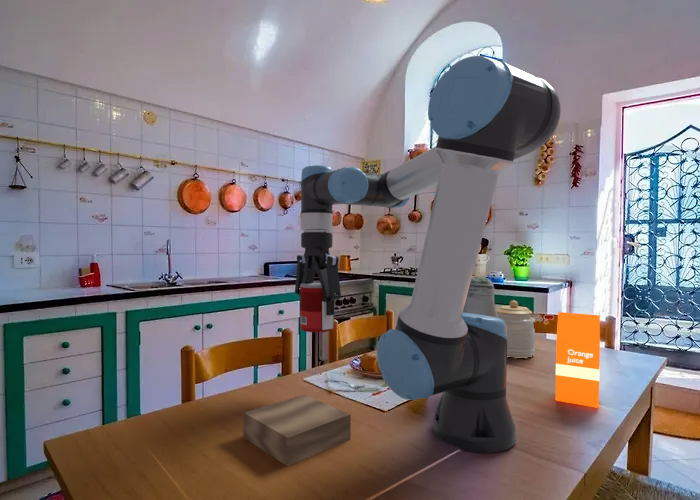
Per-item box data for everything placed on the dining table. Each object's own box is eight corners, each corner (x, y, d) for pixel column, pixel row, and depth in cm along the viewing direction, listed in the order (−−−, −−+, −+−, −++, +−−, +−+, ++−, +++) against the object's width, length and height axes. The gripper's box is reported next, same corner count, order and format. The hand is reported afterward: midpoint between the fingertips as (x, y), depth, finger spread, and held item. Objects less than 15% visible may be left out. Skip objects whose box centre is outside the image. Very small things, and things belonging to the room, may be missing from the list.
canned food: (328, 333, 98) (328, 285, 98) (295, 331, 100) (295, 284, 100) (336, 327, 106) (336, 282, 106) (305, 325, 108) (305, 282, 107)
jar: (489, 348, 148) (489, 297, 147) (528, 350, 146) (529, 298, 146) (496, 358, 135) (497, 302, 134) (539, 360, 133) (540, 303, 133)
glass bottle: (474, 400, 98) (475, 279, 98) (447, 387, 108) (448, 275, 107) (507, 394, 102) (508, 278, 102) (478, 382, 112) (479, 275, 111)
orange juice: (557, 390, 106) (558, 309, 105) (599, 397, 101) (600, 313, 101) (555, 400, 99) (556, 314, 98) (599, 408, 94) (600, 317, 94)
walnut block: (350, 441, 79) (350, 414, 79) (287, 468, 69) (287, 437, 69) (304, 418, 89) (304, 394, 89) (243, 439, 79) (243, 412, 79)
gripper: (357, 231, 97) (357, 330, 98) (304, 232, 113) (304, 318, 113) (331, 230, 92) (331, 335, 93) (280, 232, 108) (280, 322, 108)
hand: (316, 326), depth 103 cm, fingers closed on canned food, 8 cm apart
